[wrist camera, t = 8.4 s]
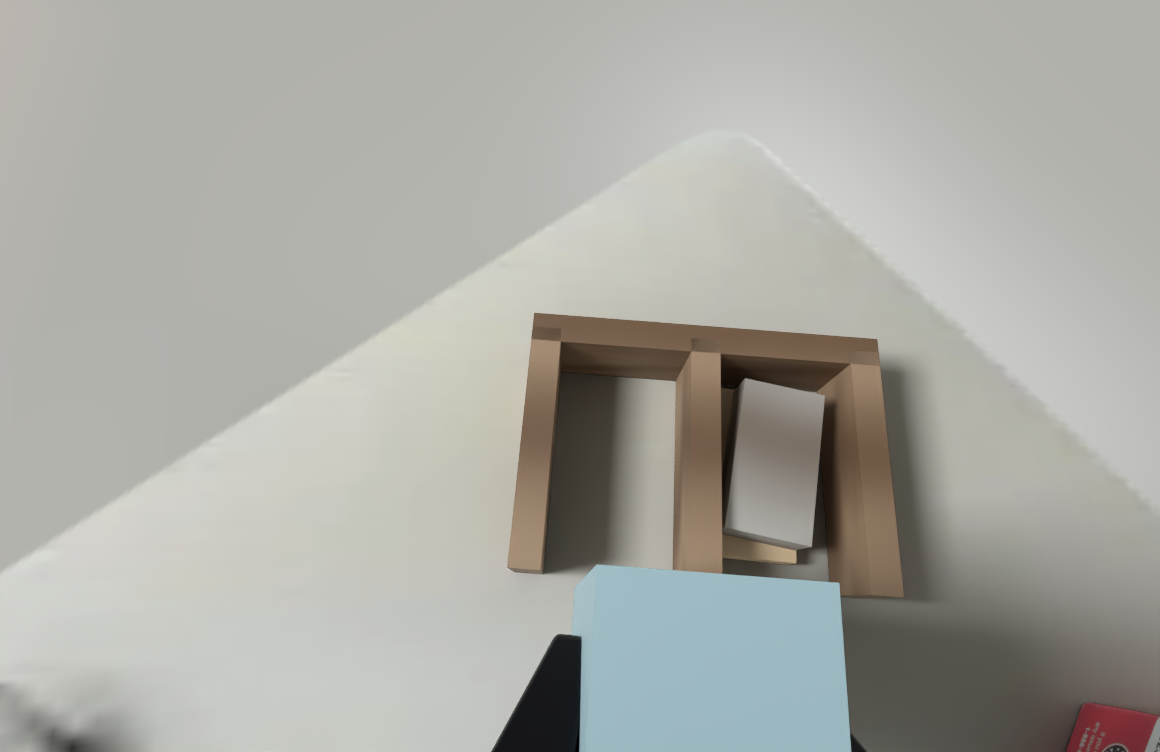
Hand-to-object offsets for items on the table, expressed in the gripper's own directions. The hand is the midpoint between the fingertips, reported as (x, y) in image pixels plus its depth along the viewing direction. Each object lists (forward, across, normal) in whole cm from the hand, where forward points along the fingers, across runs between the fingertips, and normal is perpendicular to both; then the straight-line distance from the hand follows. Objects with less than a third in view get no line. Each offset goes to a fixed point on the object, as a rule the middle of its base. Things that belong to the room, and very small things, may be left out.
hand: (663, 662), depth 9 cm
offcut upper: (+12, -5, +4) cm, 14 cm away
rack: (+13, -3, +5) cm, 14 cm away
